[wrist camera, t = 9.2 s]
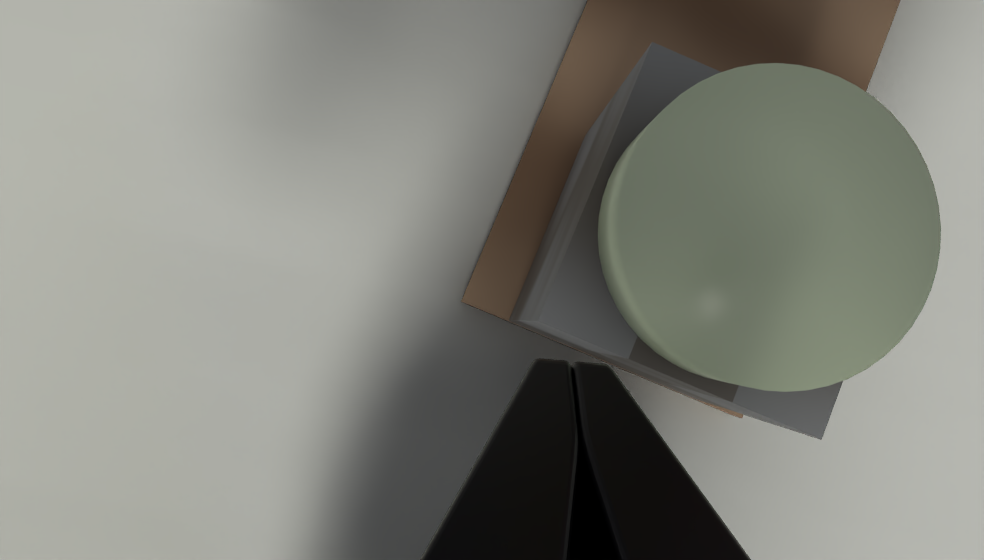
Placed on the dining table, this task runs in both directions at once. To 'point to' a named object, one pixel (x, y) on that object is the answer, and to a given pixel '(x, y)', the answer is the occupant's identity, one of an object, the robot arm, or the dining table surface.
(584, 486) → the robot arm
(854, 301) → the sage button
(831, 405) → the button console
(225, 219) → the dining table surface
